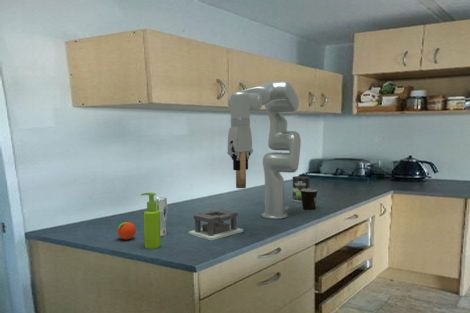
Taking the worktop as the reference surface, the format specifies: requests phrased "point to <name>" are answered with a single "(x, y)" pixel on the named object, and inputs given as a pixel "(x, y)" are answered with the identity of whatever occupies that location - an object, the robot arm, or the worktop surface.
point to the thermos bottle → (241, 172)
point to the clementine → (126, 230)
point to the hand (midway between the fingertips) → (240, 169)
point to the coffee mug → (308, 199)
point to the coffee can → (300, 186)
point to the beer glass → (162, 214)
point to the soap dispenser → (151, 224)
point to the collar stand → (215, 224)
